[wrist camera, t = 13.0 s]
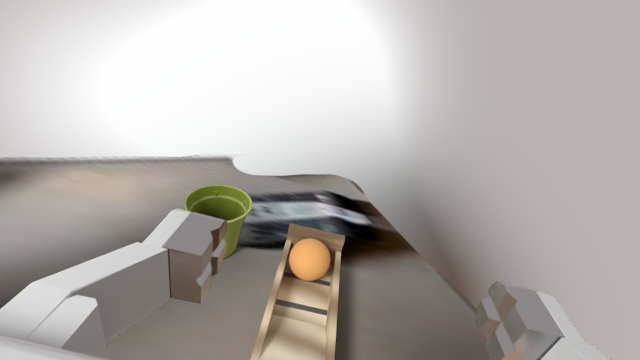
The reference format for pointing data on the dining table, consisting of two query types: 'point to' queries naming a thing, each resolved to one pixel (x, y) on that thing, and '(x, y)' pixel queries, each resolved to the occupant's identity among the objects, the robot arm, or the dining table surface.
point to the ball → (309, 259)
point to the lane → (302, 306)
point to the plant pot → (222, 208)
